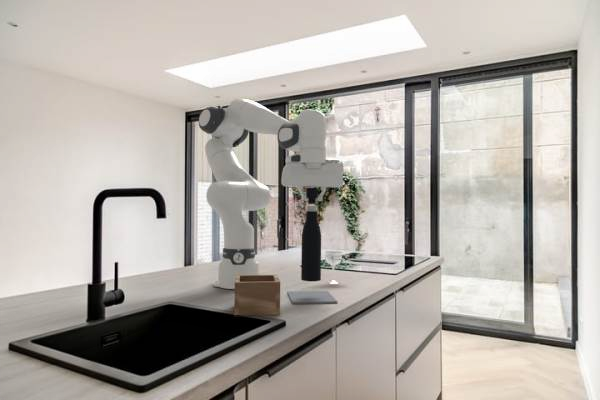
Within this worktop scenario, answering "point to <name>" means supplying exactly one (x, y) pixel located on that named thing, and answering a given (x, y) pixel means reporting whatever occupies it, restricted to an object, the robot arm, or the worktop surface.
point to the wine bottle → (311, 241)
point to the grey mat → (311, 297)
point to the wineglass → (333, 261)
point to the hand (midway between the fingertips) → (311, 200)
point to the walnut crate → (257, 295)
